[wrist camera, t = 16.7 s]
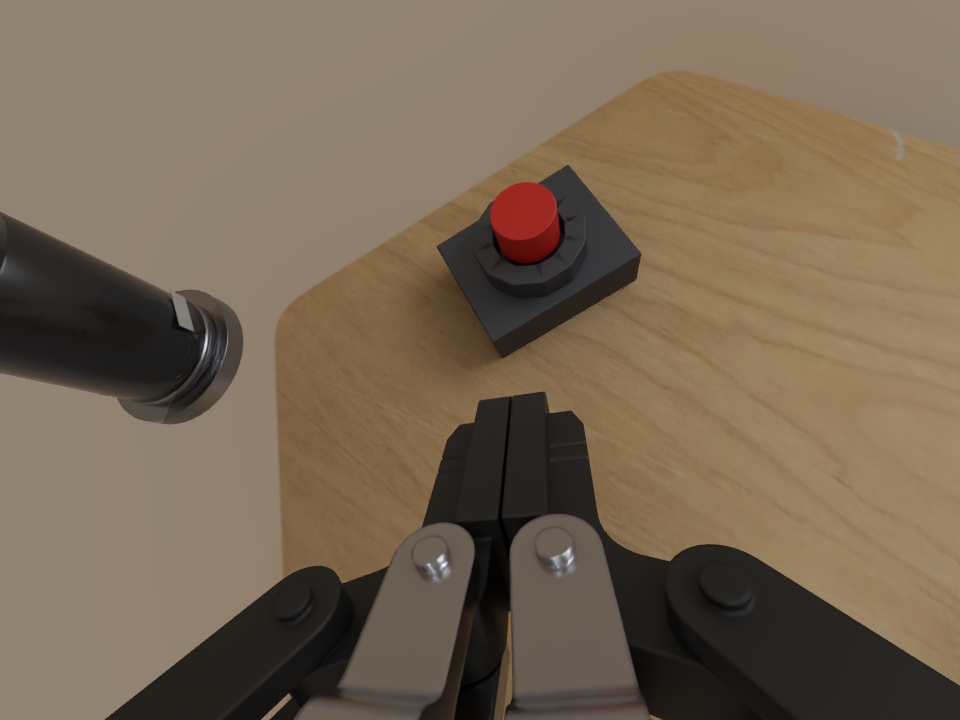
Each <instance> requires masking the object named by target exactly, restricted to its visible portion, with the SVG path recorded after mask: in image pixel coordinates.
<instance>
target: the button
mask: <svg viewBox="0 0 960 720" xmlns="http://www.w3.org/2000/svg"><path fill="white" fill-rule="evenodd" d="M490 222H491V225H492V228H493V230H494V233H495V236H496V238H497V241H498V244H499V246H500V249H501V251H502V252H503V254H504V255H505V256H506V257H507V258H509V259H510V260H512V261H514V262H517V263H523V264H529V263H534V262H538V261H540V260H542V259H544V258H546V257H547V256H548V255H549V254H551V253H552V251H553V250H554V249H555V247H556V246H557V244H558V241H559V237H560V228H559V220H558V213H557V205H556V200H555V198H554V196H553V194H552V193H551V192H550V191H549V190H548V189H547V188H546V187H544V186H542V185H540V184H537V183H531V182H525V183H518V184H515V185H512V186H510V187H508V188H507V189H505V190H504V191H502V192H501V193H500V194H499V195H498V196H497V197H496V199H495V200H494V202H493V204H492V207H491V210H490Z"/></svg>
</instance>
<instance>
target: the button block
mask: <svg viewBox="0 0 960 720" xmlns="http://www.w3.org/2000/svg"><path fill="white" fill-rule="evenodd" d="M538 184H540V185H542V186H544V187H546V188H547V189H548V190H549V191H550V192H551V193H552V194H553V196H554V198H555V200H556V205H557V213H558V220H559V228H560V237H559V241H558V244H557V246H556V247H555V249H554V250H553V251H552V253H551V254H549V255H548V256H547V257H546V258H544V259H542V260H540V261H538V262H534V263H529V264H523V263H517V262H514V261H512V260H510V259H509V258H507V257H506V256H505V255H504V254H503V252H502V251H501V249H500V246H499V244H498V241H497V238H496V236H495V233H494V230H493V228H492V225H491V222H490V210H491V207H492V204H493V202H494V201H493V202H491V203H490V204H489V205H488V207H487V208H486V210H485V212H484V213H483V215H482V216H481V218H480V219H479V220H478V221H477V222H475V223H473V224H472V225H470V226H468V227H467V228H465V229H464V230H462V231H460V232H459V233H457V234H456V235H454V236H452V237H451V238H449V239H447V240H446V241H444V242H443V243H441V244H439V245H438V246H437V248H438V250H439V252H440V253H441V255H442V257H443V259H444V260H445V262H446V264H447V265H448V267H449V269H450V271H451V272H452V274H453V276H454V277H455V279H456V281H457V283H458V284H459V286H460V288H461V289H462V291H463V293H464V295H465V296H466V298H467V300H468V301H469V303H470V305H471V307H472V308H473V310H474V312H475V313H476V315H477V317H478V318H479V320H480V322H481V324H482V325H483V327H484V329H485V330H486V332H487V334H488V336H489V337H490V339H491V341H492V342H493V344H494V345H495V347H496V348H497V350H498V351H499V353H500V355H501V356H502V357H505V356H507V355H509V354H510V353H512V352H514V351H516V350H517V349H519V348H521V347H522V346H524V345H526V344H527V343H529V342H531V341H532V340H534V339H536V338H537V337H539V336H541V335H543V334H544V333H546V332H548V331H549V330H551V329H553V328H554V327H556V326H558V325H559V324H561V323H563V322H564V321H566V320H568V319H570V318H571V317H573V316H575V315H576V314H578V313H580V312H581V311H583V310H585V309H586V308H588V307H590V306H591V305H593V304H595V303H596V302H598V301H600V300H602V299H603V298H605V297H607V296H608V295H610V294H612V293H613V292H615V291H617V290H618V289H620V288H622V287H623V286H625V285H627V284H629V283H630V282H632V281H634V280H635V279H636V278H637V273H638V268H639V263H640V258H641V253H640V251H639V250H638V249H637V248H636V246H635V245H634V244H633V243H632V242H631V240H630V239H629V238H628V237H627V236H626V234H625V233H624V232H623V231H622V229H621V228H620V227H619V226H618V225H617V223H616V222H615V221H614V220H613V218H612V217H611V216H610V215H609V214H608V212H607V211H606V210H605V209H604V208H603V206H602V205H601V204H600V203H599V201H598V200H597V199H596V198H595V197H594V195H593V194H592V193H591V192H590V190H589V189H588V188H587V187H586V186H585V184H584V183H583V182H582V181H581V180H580V178H579V177H578V176H577V175H576V173H575V172H574V171H573V170H572V169H571V167H570V166H569V165H567V166H565V167H564V168H562V169H561V170H559V171H557V172H556V173H554V174H552V175H551V176H549V177H548V178H546V179H544V180H543V181H541V182H540V183H538Z"/></svg>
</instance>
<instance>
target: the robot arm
mask: <svg viewBox="0 0 960 720" xmlns="http://www.w3.org/2000/svg"><path fill="white" fill-rule="evenodd" d="M214 339H215V334H214V327H213V323H212V320H211V318H210V316H209V315H208V313H207V312H206V311H205V310H204V309H203V308H202V307H200V306H198V305H196V304H194V303H192V302H190V301H188V300H185V297H183V296H181V295H179V294H177V293H175V292H173V291H171V294H170V293H168V292H166V291H164V290H162V289H160V288H158V287H156V286H154V285H152V284H150V283H148V282H146V281H143V280H142V279H139V278H137V277H135V276H133V275H131V274H129V273H127V272H125V271H123V270H121V269H119V268H117V267H114V266H112V265H110V264H108V263H106V262H104V261H102V260H100V259H98V258H96V257H94V256H92V255H89V254H87V253H85V252H83V251H81V250H79V249H77V248H75V247H73V246H71V245H69V244H66V243H64V242H62V241H60V240H58V239H56V238H54V237H52V236H50V235H48V234H46V233H43V232H41V231H39V230H37V229H35V228H33V227H31V226H29V225H27V224H25V223H23V222H20V221H18V220H16V219H14V218H12V217H10V216H8V215H6V214H4V213H2V212H0V373H2V374H7V375H12V376H17V377H21V378H26V379H31V380H36V381H40V382H46V383H50V384H55V385H60V386H64V387H69V388H74V389H79V390H84V391H88V392H93V393H98V394H102V395H106V396H112V397H116V398H121V399H126V400H131V401H133V402H135V403H139V404H144V405H149V406H159V405H164V404H168V403H170V402H173V401H175V400H177V399H178V398H180V397H181V396H183V395H184V394H186V393H187V392H188V391H189V390H190V389H191V388H192V387H193V386H194V385H195V384H196V383H197V382H198V380H199V379H200V378H201V376H202V375H203V373H204V371H205V370H206V368H207V366H208V364H209V361H210V359H211V356H212V352H213V348H214ZM442 457H443V460H441V463H440V467H439V470H438V471H439V474H437V477H436V481H435V484H434V487H433V491H432V494H431V498H430V501H429V505H428V508H427V512H426V515H425V519H424V522H423V526H422V528H420V529H418V530H416V531H415V532H413V533H412V534H410V535H409V536H408V537H407V538H406V539H405V540H404V541H403V542H402V543H401V544H400V545H399V547H398V548H397V549H396V551H395V553H394V555H393V557H392V559H391V562H390V564H389V566H388V567H386V568H384V569H381V570H379V571H376V572H374V573H371V574H368V575H365V576H363V577H360V578H357V579H354V580H351V581H349V582H346V583H343V584H342V583H341V581H340V579H339V577H338V576H337V574H336V573H335V572H334V571H333V570H332V569H330V568H328V567H324V566H312V567H307V568H304V569H301V570H298V571H296V572H294V573H292V574H290V575H289V576H287V577H285V578H284V579H283V580H281V581H280V582H279V583H277V584H276V585H275V586H273V587H272V588H271V589H270V590H268V591H267V592H266V593H265V594H263V595H262V596H261V597H260V598H258V599H257V600H256V601H254V602H253V603H252V604H251V605H250V606H248V607H247V608H246V609H244V610H243V611H242V612H241V613H239V614H238V615H237V616H235V617H234V618H233V619H232V620H231V621H229V622H228V623H227V624H225V625H224V626H223V627H222V628H220V629H219V630H218V631H216V632H215V633H214V634H213V635H211V636H210V637H209V638H208V639H206V640H205V641H204V642H203V643H201V644H200V645H199V646H197V647H196V648H195V649H194V650H192V651H191V652H190V653H189V654H187V655H186V656H185V657H184V658H182V659H181V660H180V661H179V662H177V663H176V664H175V665H173V666H172V667H171V668H170V669H169V670H167V671H166V672H165V673H163V674H162V675H161V676H159V677H158V678H157V679H156V680H154V681H153V682H152V683H151V684H149V685H148V686H147V687H146V688H144V689H143V690H142V691H140V692H139V693H138V694H137V695H135V696H134V697H133V698H132V699H130V700H129V701H128V702H126V703H125V704H124V705H123V706H121V707H120V708H119V709H118V710H116V711H115V712H114V713H113V714H111V715H110V716H109V717H107V718H106V719H105V720H261V719H262V718H263V717H264V716H265V715H266V714H267V713H268V712H269V711H270V710H271V709H272V708H273V707H275V706H276V705H277V704H278V703H279V702H280V701H281V700H282V699H283V698H284V697H285V696H286V695H287V694H288V693H289V694H290V695H291V697H292V699H290V700H289V701H288V702H287V703H286V704H285V705H284V706H283V707H282V708H281V709H280V710H279V711H278V712H277V713H276V714H275V715H274V716H273V717H272V718H271V719H270V720H502V719H503V710H504V702H505V694H506V685H507V677H508V669H509V658H510V653H509V646H508V643H507V631H508V613H509V611H511V637H512V680H513V689H512V700H511V703H510V704H509V705H508V706H507V707H506V711H505V716H504V720H651V718H650V715H653V716H655V717H658V718H660V719H663V720H960V686H959V685H958V684H956V683H954V682H953V681H951V680H950V679H948V678H946V677H945V676H943V675H942V674H940V673H938V672H937V671H935V670H934V669H932V668H931V667H929V666H927V665H926V664H924V663H923V662H921V661H919V660H918V659H916V658H915V657H913V656H911V655H910V654H908V653H907V652H905V651H903V650H902V649H900V648H899V647H897V646H896V645H894V644H892V643H891V642H889V641H888V640H886V639H884V638H883V637H881V636H880V635H878V634H876V633H875V632H873V631H872V630H870V629H869V628H867V627H865V626H864V625H862V624H861V623H859V622H857V621H856V620H854V619H853V618H851V617H849V616H848V615H846V614H845V613H843V612H842V611H840V610H838V609H837V608H835V607H834V606H832V605H830V604H829V603H827V602H826V601H824V600H822V599H821V598H819V597H818V596H816V595H814V594H813V593H811V592H810V591H808V590H807V589H805V588H803V587H802V586H800V585H799V584H797V583H795V582H794V581H792V580H791V579H789V578H787V577H786V576H784V575H783V574H781V573H780V572H778V571H776V570H775V569H773V568H772V567H770V566H768V565H767V564H765V563H764V562H762V561H760V560H759V559H757V558H755V557H754V556H752V555H750V554H748V553H746V552H743V551H741V550H739V549H735V548H732V547H728V546H723V545H714V544H705V545H697V546H693V547H690V548H687V549H685V550H683V551H681V552H680V553H679V554H677V555H676V556H675V557H674V558H673V559H672V560H671V561H666V560H661V559H657V558H653V557H648V556H644V555H641V554H637V553H634V552H632V551H630V550H627V549H625V548H624V547H622V546H620V545H619V544H617V543H616V542H615V541H614V540H612V539H611V538H610V537H609V536H608V535H607V533H606V532H605V531H604V529H603V528H602V526H601V524H600V521H599V518H598V513H597V507H596V501H595V494H594V488H593V482H592V476H591V469H590V463H589V457H588V450H587V444H586V438H585V432H584V425H583V423H582V422H581V421H580V420H579V419H578V417H577V416H576V415H575V414H574V413H573V412H572V411H565V412H557V413H549V408H548V402H547V398H546V394H545V392H538V393H531V394H523V395H516V396H513V397H511V396H509V397H502V398H495V399H487V400H480V401H479V403H478V408H477V412H476V417H475V422H474V423H470V424H462V425H459V426H458V428H457V429H456V430H455V431H454V432H453V434H452V435H451V436H450V437H449V438H448V440H447V442H446V446H445V449H444V453H443V456H442ZM649 714H650V715H649Z"/></svg>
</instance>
